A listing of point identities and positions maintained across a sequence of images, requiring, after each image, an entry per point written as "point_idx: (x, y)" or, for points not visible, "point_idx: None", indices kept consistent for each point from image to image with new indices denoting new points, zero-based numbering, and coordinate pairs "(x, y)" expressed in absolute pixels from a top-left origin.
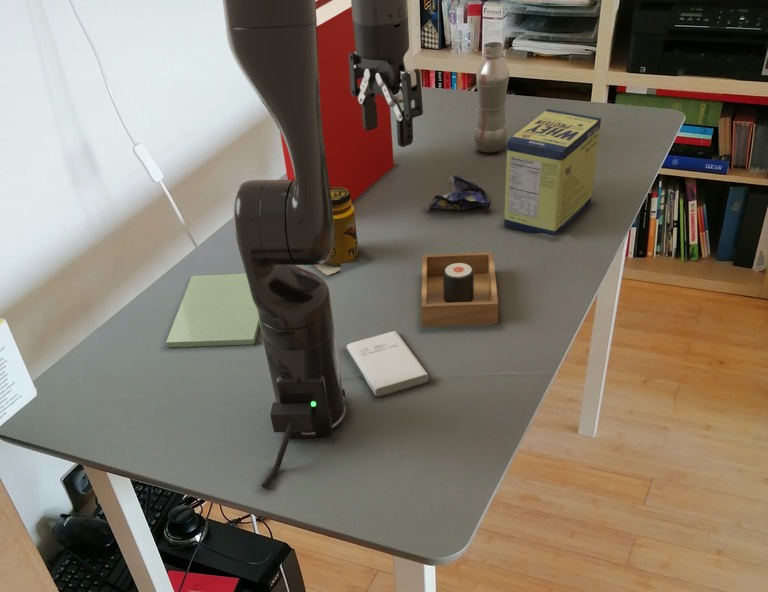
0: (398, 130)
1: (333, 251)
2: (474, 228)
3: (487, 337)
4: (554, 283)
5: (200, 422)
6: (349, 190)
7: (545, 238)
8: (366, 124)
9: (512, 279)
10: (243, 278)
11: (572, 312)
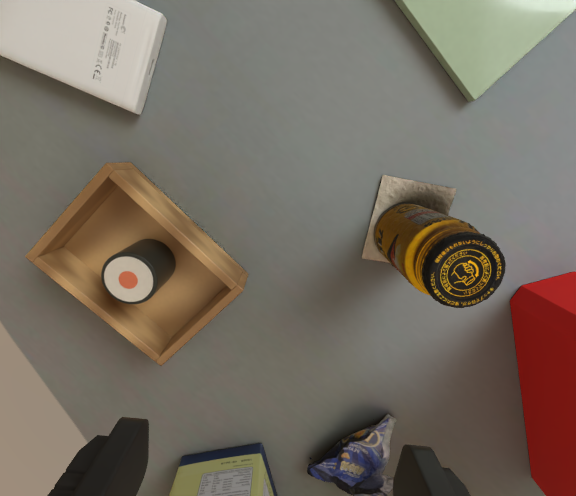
0: (91, 491)
1: (403, 210)
2: (293, 417)
3: (47, 215)
4: (96, 376)
5: None
6: (534, 379)
7: (194, 451)
8: (419, 471)
9: None
10: (509, 44)
11: (21, 338)
